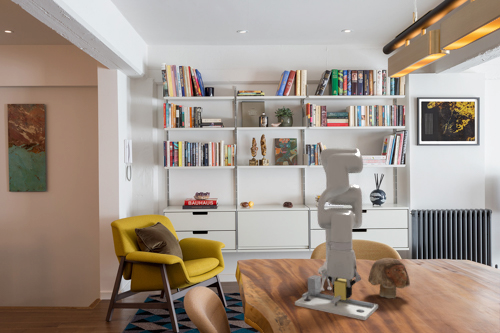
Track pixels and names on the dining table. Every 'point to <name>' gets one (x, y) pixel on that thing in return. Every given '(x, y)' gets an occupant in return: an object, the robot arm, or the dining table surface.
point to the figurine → (323, 269)
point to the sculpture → (389, 276)
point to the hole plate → (337, 307)
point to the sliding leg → (339, 290)
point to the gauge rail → (315, 290)
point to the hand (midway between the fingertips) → (342, 295)
